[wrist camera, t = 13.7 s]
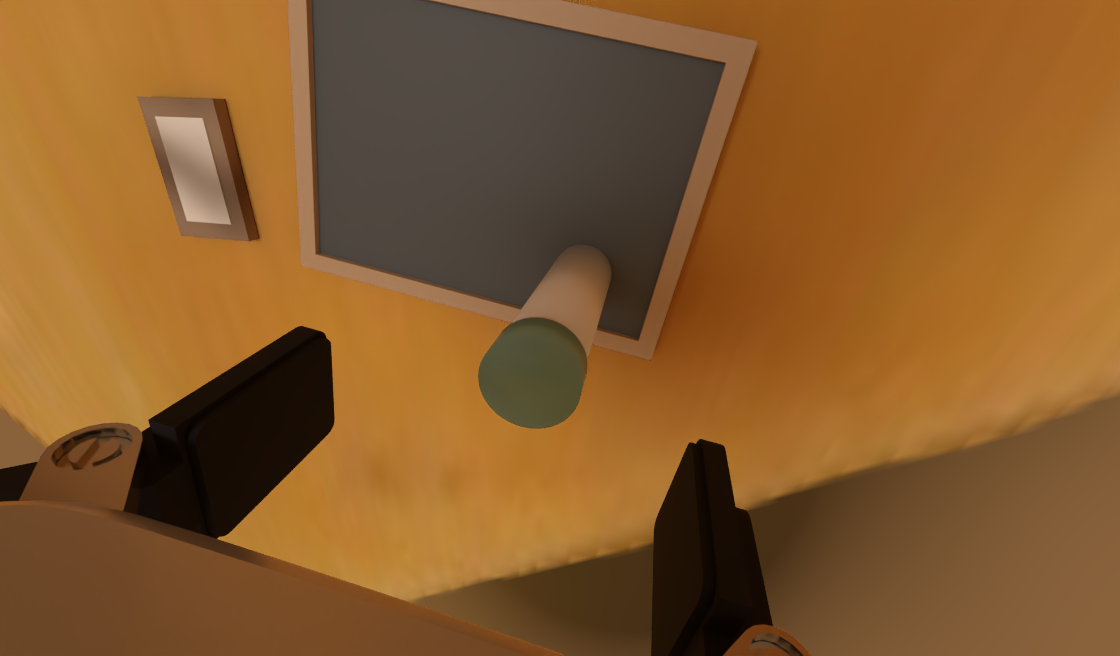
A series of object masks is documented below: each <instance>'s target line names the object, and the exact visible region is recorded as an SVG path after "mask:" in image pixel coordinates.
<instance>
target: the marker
mask: <svg viewBox="0 0 1120 656" xmlns="http://www.w3.org/2000/svg"><path fill="white" fill-rule="evenodd" d="M611 275H612V272H611V266H610V263H609V261H608V259H607V257H606V256H605V255H604V254H603V253H602V252H601V251H600V250H598V249H597V248H595V247H593V246H589V245H582V244H581V245H574V246H571V247H569V248H567V249H566V250H564V251H563V252H562V253H561V254H560V255H559V257H558V258H557V260H556V261H555V262H554V264H553V265H552V267H551V268H550V270H549V271H548V272H547V274H546V275H545V277H544V278H543V279H542V281H541V282H540V284H539V285H538V286H537V288H536V289H535V291H534V292H533V293H532V295H531V296H530V298H529V299H528V301H527V302H526V303H525V305H524V306H523V308H522V309H521V310H520V312H519V313H518V315H517V316H516V317H515V319H514V320H513V322H512V323H511V324H510V325H509V326H507V327H506V328H505V329H504V330H503V331H502V332H501V334H500V335H499V336H498V338H497V339H496V341H495V342H494V343H493V345H492V346H491V347H490V349H489V350H488V352H487V353H486V354H485V356H484V358H483V359H482V361H481V364H480V367H479V374H478V379H479V386H480V389H481V392H482V395H483V397H484V399H485V400H486V402H487V403H488V405H489V406H490V407H491V408H492V409H493V410H494V411H495V412H496V413H497V414H498V415H499V416H501V417H502V418H504V419H505V420H507V421H509V422H511V423H513V424H515V425H518V426H522V427H526V428H537V429H540V428H547V427H552V426H554V425H557V424H559V423H561V422H563V421H564V420H566V419H567V418H568V417H569V416H570V415H571V414H572V413H573V412H574V410H575V409H576V407H577V405H578V402H579V399H580V396H581V392H582V388H583V385H584V381H585V378H586V374H587V366H588V363H587V360H588V357H589V353H590V350H591V347H592V343H593V340H594V336H595V333H596V329H597V326H598V322H599V319H600V315H601V312H602V309H603V305H604V302H605V298H606V295H607V291H608V288H609V284H610V281H611Z"/></svg>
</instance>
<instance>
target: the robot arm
mask: <svg viewBox="0 0 1120 656" xmlns="http://www.w3.org/2000/svg"><path fill="white" fill-rule="evenodd" d="M149 424H150V427H149V428H147V429H146V430H144V431H143V432H141V431H140V430H139V429H138V428H137V427H135V426H132V425H130V424H124V423H103V424H98V425H93V426H88V427H85V428H82V429H79V430H76V431H74V432H71V433H69V434H67V435H65V436H63V437H61V438H59V439H58V440H56V441H55V442H54V443H52V444H51V445H50V446H48V447H47V448H46V450H45V451H44V452H43V454H42V455H41V456H40V459H39V461H38V462H34V463H29V464H24V465H19V466H14V467H9V468H4V469H0V656H566V655H563V654H560V653H557V652H554V651H551V650H549V649H546V648H543V647H540V646H537V645H534V644H532V643H528V642H525V641H523V640H520V639H517V638H514V637H511V636H508V635H505V634H502V633H499V632H496V631H493V630H490V629H487V628H484V627H481V626H478V625H475V624H472V623H469V622H466V621H463V620H460V619H457V618H454V617H452V616H448V615H446V614H443V613H440V612H437V611H433V610H431V609H428V608H425V607H422V606H419V605H416V604H413V603H410V602H407V601H404V600H401V599H398V598H395V597H392V596H389V595H386V594H383V593H380V592H377V591H374V590H371V589H368V588H365V587H362V586H359V585H356V584H353V583H350V582H347V581H344V580H340V579H337V578H334V577H331V576H328V575H325V574H322V573H319V572H316V571H313V570H310V569H307V568H304V567H301V566H298V565H295V564H292V563H289V562H286V561H283V560H280V559H276V558H273V557H270V556H267V555H264V554H261V553H258V552H255V551H252V550H249V549H246V548H243V547H240V546H236V545H233V544H230V543H227V542H224V541H221V540H218V539H217V538H218V537H219V536H220V537H222V536H225V535H227V534H228V533H230V532H231V531H232V530H233V529H234V528H235V527H236V526H237V525H238V524H239V523H240V522H241V521H242V520H243V519H244V518H245V517H246V516H247V515H248V514H249V513H250V512H251V511H252V510H253V509H254V508H255V507H256V506H257V505H258V504H259V503H260V502H261V501H262V500H263V499H264V498H265V497H266V496H267V495H268V494H269V493H270V492H271V491H272V490H273V489H274V488H275V487H276V486H277V485H278V484H279V483H280V482H281V481H282V480H283V479H284V478H285V477H286V476H287V475H288V474H289V473H290V472H291V471H292V470H293V469H294V468H295V467H296V466H297V465H298V464H299V463H300V462H301V461H302V460H303V459H304V458H305V457H306V456H307V455H308V454H309V453H310V452H311V451H312V450H313V449H314V448H315V447H316V446H317V445H318V444H319V443H320V442H321V441H322V440H323V439H324V438H325V437H326V436H327V435H328V434H329V432H330V431H331V429H332V427H333V425H334V398H333V377H332V356H331V343H330V341H329V340H328V339H326V335H325V334H324V333H323V332H321V331H318V330H314V329H311V328H307V327H304V326H299V327H297V328H295V329H293V330H292V331H290V332H288V333H287V334H285V335H284V336H282V337H280V338H279V339H277V340H276V341H274V342H272V343H271V344H269V345H268V346H266V347H264V348H263V349H261V350H260V351H258V352H256V353H255V354H253V355H252V356H250V357H248V358H247V359H245V360H244V361H242V362H240V363H239V364H237V365H236V366H234V367H232V368H231V369H229V370H228V371H226V372H224V373H223V374H221V375H220V376H218V377H216V378H215V379H213V380H212V381H210V382H208V383H207V384H205V385H203V386H202V387H200V388H199V389H197V390H195V391H194V392H192V393H191V394H189V395H187V396H186V397H184V398H183V399H181V400H179V401H178V402H176V403H175V404H173V405H171V406H170V407H168V408H167V409H165V410H163V411H162V412H160V413H159V414H157V415H155V416H154V417H152V418H151V419H149ZM652 599H653V601H652V648H651V656H811V654H810V653H809V652H808V651H807V650H806V649H805V648H804V646H803V645H802V644H801V643H800V642H798V641H797V640H796V639H795V638H794V637H792V636H791V635H790V634H788V633H787V632H785V631H783V630H781V629H778V628H777V627H774V626H773V624H772V620H771V615H770V610H769V605H768V600H767V596H766V591H765V586H764V581H763V576H762V571H761V567H760V562H759V557H758V552H757V548H756V543H755V538H754V533H753V529H752V523H751V519H750V516H749V514H748V512H747V511H746V510H743V509H739V508H736V507H735V501H734V496H733V490H732V484H731V479H730V473H729V468H728V462H727V456H726V451H725V447H724V446H723V445H720V444H717V443H713V442H710V441H706V440H703V439H699V440H698V441H697V443H696V444H695V443H691V442H690V443H689V444H688V446H687V448H686V450H685V453H684V455H683V457H682V460H681V462H680V464H679V467H678V469H677V471H676V474H675V476H674V478H673V481H672V483H671V485H670V488H669V490H668V492H667V495H666V497H665V499H664V502H663V504H662V506H661V509H660V511H659V513H658V516H657V518H656V522H655V527H654V552H653V598H652Z"/></svg>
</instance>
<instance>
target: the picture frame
mask: <svg viewBox="0 0 1120 656" xmlns="http://www.w3.org/2000/svg"><path fill="white" fill-rule="evenodd" d="M138 100H139V104H140V107H141V110H142V113H143V116H144V119H145V123H146V126H147V129H148V132H149V135H150V138H151V142H152V145H153V148H154V151H155V154H156V157H157V160H158V164H159V167H160V170H161V173H162V176H163V179H164V183H165V186H166V189H167V192H168V195H169V198H170V202H171V205H172V208H173V211H174V214H175V217H176V220H177V224H178V227H179V230H180V233H181V236H193V237H205V238H217V239H229V240H240V241H251V240H255V239H258V238H259V237H258V232H257V228H256V224H255V220H254V216H253V212H252V208H251V204H250V200H249V196H248V192H247V188H246V184H245V180H244V176H243V172H242V168H241V164H240V160H239V155H238V151H237V147H236V143H235V139H234V135H233V131H232V127H231V123H230V119H229V115H228V111H227V107H226V103H225V99H203V98H167V97H138Z"/></svg>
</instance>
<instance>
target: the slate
mask: <svg viewBox="0 0 1120 656" xmlns="http://www.w3.org/2000/svg"><path fill="white" fill-rule="evenodd" d="M287 1H288V21H289V40H290V59H291V79H292V98H293V118H294V137H295V157H296V176H297V196H298V215H299V234H300V254H301V266H304V267H308V268H311V269H315V270H319V271H322V272H326V273H330V274H333V275H337V276H341V277H344V278H348V279H352V280H355V281H359V282H363V283H366V284H370V285H374V286H377V287H381V288H385V289H389V290H392V291H396V292H400V293H403V294H407V295H411V296H414V297H418V298H422V299H425V300H429V301H433V302H436V303H440V304H444V305H447V306H451V307H455V308H458V309H462V310H466V311H469V312H473V313H477V314H480V315H484V316H488V317H491V318H495V319H499V320H502V321H506V322H510V323H512V322H513V320H514V319H515V317H516V316H517V315H518V313H519V312H520V310H521V309H522V308H523V306H524V305H525V303H526V302H527V301H528V299H529V298H530V296H531V295H532V293H533V292H534V291H535V289H536V288H537V286H538V285H539V284H540V282H541V281H542V279H543V278H544V277H545V275H546V274H547V272H548V271H549V270H550V268H551V267H552V265H553V264H554V262H555V261H556V260H557V258H558V257H559V255H560V254H561V253H562V252H563V251H564V250H566V249H567V248H569V247H571V246H574V245H581V244H582V245H589V246H593V247H595V248H597V249H598V250H600V251H601V252H602V253H603V254H604V255H605V256H606V257H607V259H608V261H609V263H610V266H611V272H612V275H611V281H610V284H609V288H608V291H607V295H606V298H605V302H604V305H603V309H602V312H601V315H600V319H599V322H598V326H597V329H596V333H595V336H594V340H593V343H592V345H594V346H598V347H602V348H605V349H609V350H613V351H616V352H620V353H624V354H627V355H631V356H635V357H638V358H642V359H646V360H649V361H651V359H652V356H653V353H654V350H655V347H656V344H657V341H658V338H659V335H660V332H661V329H662V326H663V323H664V320H665V317H666V314H667V311H668V308H669V305H670V302H671V299H672V296H673V293H674V290H675V287H676V284H677V281H678V278H679V275H680V273H681V270H682V267H683V264H684V261H685V258H686V255H687V252H688V249H689V246H690V243H691V240H692V237H693V234H694V231H695V228H696V225H697V222H698V219H699V216H700V213H701V210H702V207H703V204H704V201H705V198H706V195H707V192H708V189H709V186H710V183H711V180H712V177H713V174H714V171H715V168H716V165H717V162H718V159H719V156H720V153H721V150H722V147H723V144H724V141H725V138H726V135H727V132H728V129H729V126H730V123H731V120H732V117H733V114H734V111H735V108H736V105H737V102H738V100H739V97H740V94H741V91H742V88H743V85H744V82H745V79H746V76H747V73H748V70H749V67H750V64H751V61H752V58H753V55H754V52H755V49H756V46H757V43H758V41H756V40H751V39H746V38H741V37H736V36H731V35H726V34H722V33H717V32H712V31H707V30H702V29H697V28H693V27H688V26H683V25H678V24H673V23H668V22H664V21H659V20H654V19H649V18H644V17H639V16H634V15H630V14H625V13H620V12H615V11H610V10H605V9H601V8H596V7H591V6H586V5H581V4H576V3H572V2H567V1H562V0H287Z"/></svg>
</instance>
